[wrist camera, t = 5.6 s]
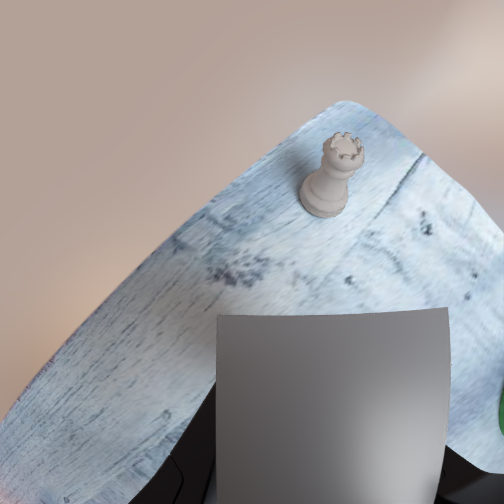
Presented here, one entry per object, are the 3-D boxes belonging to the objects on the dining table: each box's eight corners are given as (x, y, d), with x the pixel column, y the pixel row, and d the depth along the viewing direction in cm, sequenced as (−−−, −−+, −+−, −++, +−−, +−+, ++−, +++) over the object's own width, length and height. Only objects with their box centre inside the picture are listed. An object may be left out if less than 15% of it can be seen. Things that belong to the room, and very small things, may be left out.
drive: (306, 441, 14) (412, 562, 2) (235, 443, 13) (222, 595, 2) (307, 341, 16) (447, 307, 4) (236, 341, 15) (216, 314, 4)
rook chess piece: (336, 228, 25) (370, 180, 18) (291, 208, 26) (309, 152, 18) (349, 190, 27) (380, 138, 19) (307, 172, 27) (326, 114, 20)
